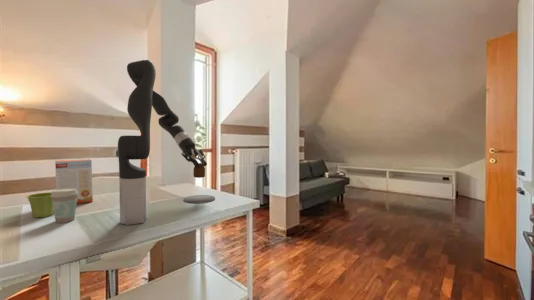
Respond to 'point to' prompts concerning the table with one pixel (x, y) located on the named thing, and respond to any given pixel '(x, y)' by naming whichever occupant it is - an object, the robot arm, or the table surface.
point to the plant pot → (41, 204)
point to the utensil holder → (199, 170)
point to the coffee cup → (64, 204)
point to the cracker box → (75, 177)
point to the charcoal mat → (199, 198)
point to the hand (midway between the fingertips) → (202, 165)
